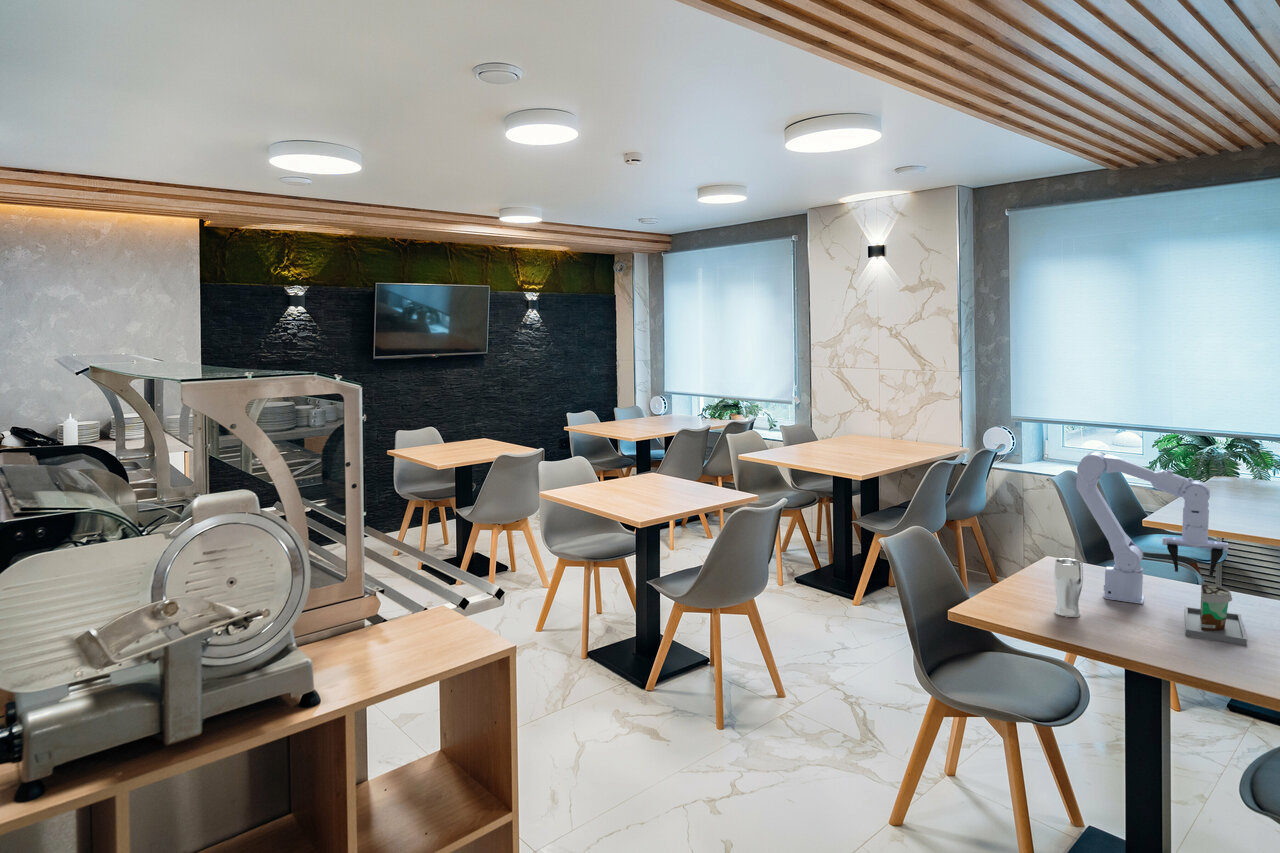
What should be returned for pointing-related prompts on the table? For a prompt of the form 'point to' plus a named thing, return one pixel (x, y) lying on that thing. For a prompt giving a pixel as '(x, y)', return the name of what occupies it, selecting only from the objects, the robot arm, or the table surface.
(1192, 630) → the gray tray
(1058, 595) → the beer glass
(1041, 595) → the table surface
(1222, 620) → the food container
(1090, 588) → the table surface
